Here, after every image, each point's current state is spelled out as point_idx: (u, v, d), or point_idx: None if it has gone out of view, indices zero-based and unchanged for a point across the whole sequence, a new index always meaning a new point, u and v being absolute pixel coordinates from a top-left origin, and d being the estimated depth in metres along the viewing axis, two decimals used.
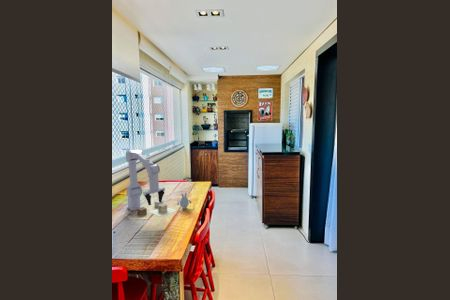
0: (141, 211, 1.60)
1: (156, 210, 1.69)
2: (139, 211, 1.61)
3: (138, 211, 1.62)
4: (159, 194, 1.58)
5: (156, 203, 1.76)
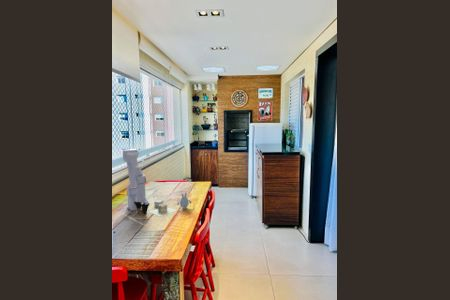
0: (141, 211, 1.60)
1: (156, 210, 1.69)
2: (139, 211, 1.61)
3: (138, 211, 1.62)
4: None
5: (156, 203, 1.76)
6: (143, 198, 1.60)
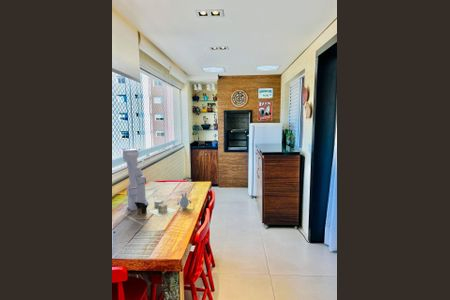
0: (141, 211, 1.60)
1: (156, 210, 1.69)
2: (139, 211, 1.61)
3: (138, 211, 1.62)
4: None
5: (156, 203, 1.76)
6: (143, 198, 1.60)
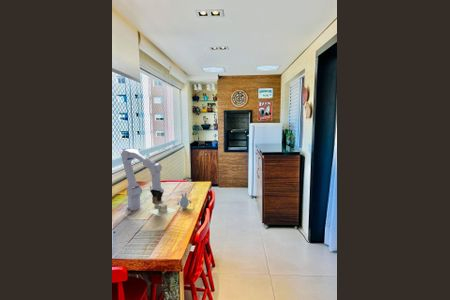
0: (156, 199, 1.62)
1: (156, 210, 1.69)
2: (154, 199, 1.63)
3: (153, 199, 1.64)
4: None
5: None
6: (158, 186, 1.62)
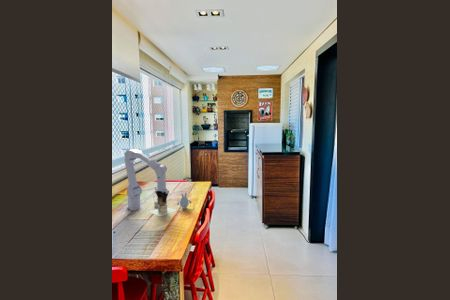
0: (161, 200, 1.64)
1: (156, 210, 1.69)
2: (160, 200, 1.64)
3: (158, 200, 1.65)
4: None
5: (156, 203, 1.76)
6: (164, 187, 1.64)
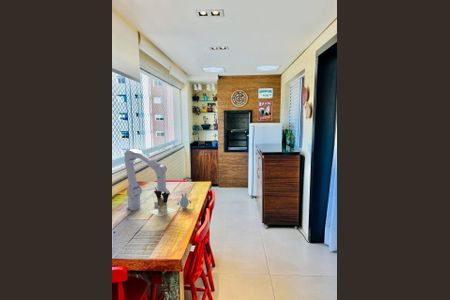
0: (161, 201, 1.64)
1: (156, 210, 1.69)
2: (160, 201, 1.64)
3: (158, 201, 1.65)
4: None
5: (156, 203, 1.76)
6: (164, 187, 1.64)
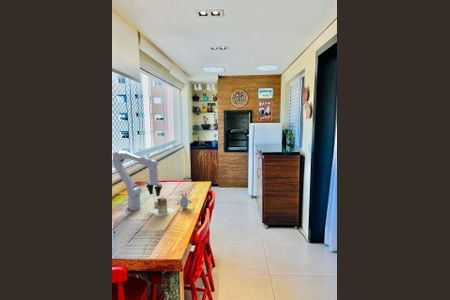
0: (161, 201, 1.64)
1: (156, 210, 1.69)
2: (160, 201, 1.64)
3: (158, 201, 1.65)
4: None
5: (156, 203, 1.76)
6: (156, 181, 1.70)
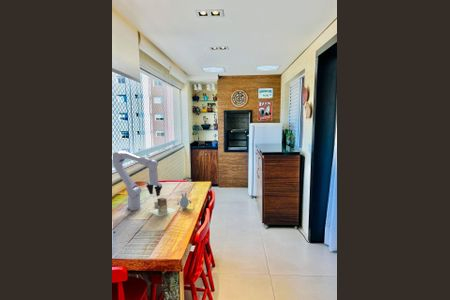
0: (161, 201, 1.64)
1: (156, 210, 1.69)
2: (160, 201, 1.64)
3: (158, 201, 1.65)
4: None
5: (156, 203, 1.76)
6: (156, 181, 1.70)
